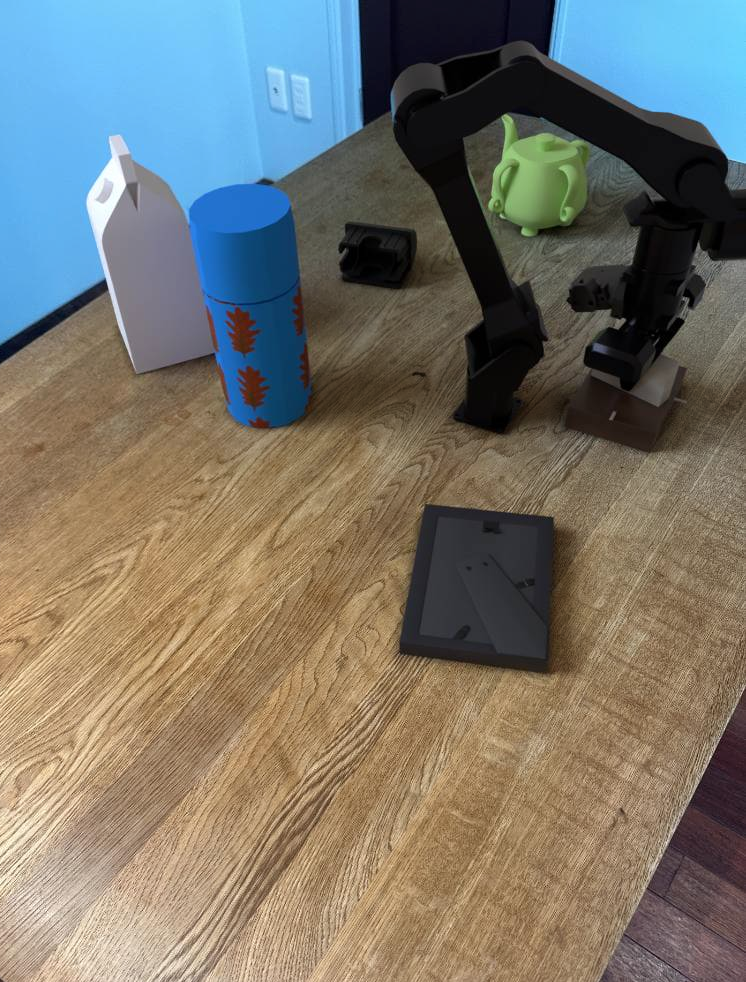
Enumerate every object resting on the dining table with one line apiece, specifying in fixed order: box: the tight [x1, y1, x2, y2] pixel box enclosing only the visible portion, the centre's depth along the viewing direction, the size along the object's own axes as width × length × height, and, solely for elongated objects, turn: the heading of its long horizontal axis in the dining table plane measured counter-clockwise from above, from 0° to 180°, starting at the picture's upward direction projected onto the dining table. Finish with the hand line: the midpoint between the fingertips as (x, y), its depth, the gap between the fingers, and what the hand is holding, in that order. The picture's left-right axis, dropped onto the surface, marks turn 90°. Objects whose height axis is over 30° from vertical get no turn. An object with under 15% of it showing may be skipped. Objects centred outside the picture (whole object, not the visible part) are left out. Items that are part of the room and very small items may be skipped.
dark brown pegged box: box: [564, 365, 688, 453], centre depth 96 cm, size 13×13×3 cm
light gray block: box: [591, 353, 681, 407], centre depth 93 cm, size 9×2×5 cm, turn 45°
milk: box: [85, 134, 215, 375], centre depth 102 cm, size 12×12×26 cm
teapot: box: [487, 113, 591, 237], centre depth 123 cm, size 16×14×13 cm
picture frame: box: [398, 503, 555, 674], centre depth 79 cm, size 13×2×18 cm
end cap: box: [337, 220, 418, 290], centre depth 117 cm, size 10×7×7 cm
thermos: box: [188, 183, 312, 429], centre depth 92 cm, size 11×11×25 cm
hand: (630, 383), depth 94 cm, fingers closed on light gray block, 2 cm apart
